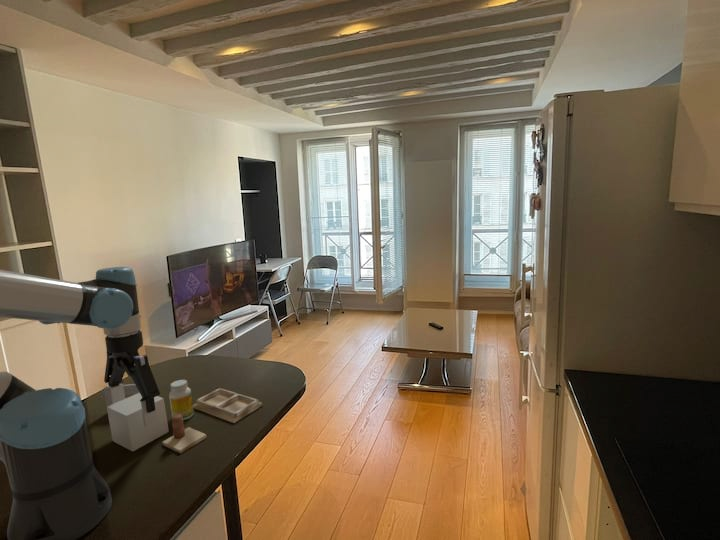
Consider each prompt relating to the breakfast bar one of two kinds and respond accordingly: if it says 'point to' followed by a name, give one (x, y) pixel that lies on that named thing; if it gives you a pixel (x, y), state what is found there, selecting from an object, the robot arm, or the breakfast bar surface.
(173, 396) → the supplement bottle
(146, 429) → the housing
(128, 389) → the cassette
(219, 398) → the beige divided tray
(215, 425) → the breakfast bar surface
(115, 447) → the breakfast bar surface
